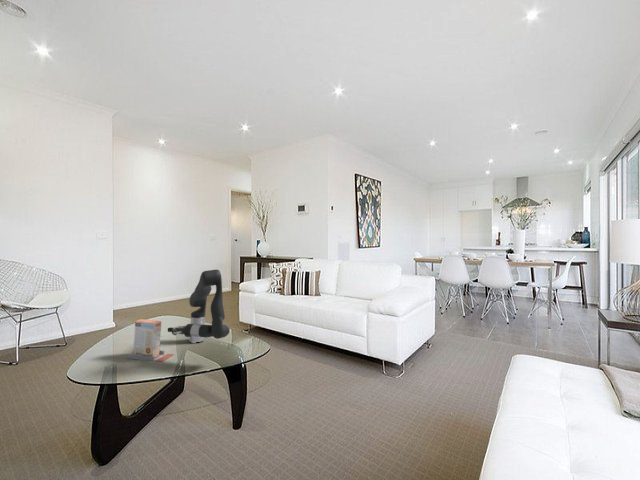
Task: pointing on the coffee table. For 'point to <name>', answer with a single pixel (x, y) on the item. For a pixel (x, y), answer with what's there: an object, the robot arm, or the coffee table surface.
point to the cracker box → (147, 338)
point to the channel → (143, 356)
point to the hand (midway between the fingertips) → (168, 329)
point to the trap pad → (164, 357)
